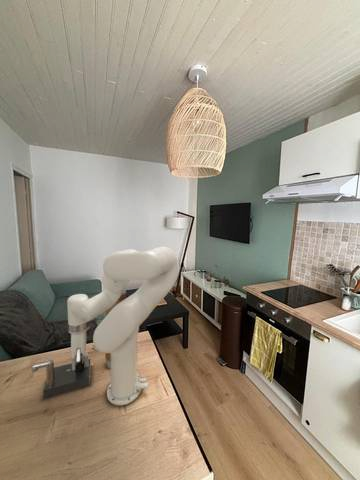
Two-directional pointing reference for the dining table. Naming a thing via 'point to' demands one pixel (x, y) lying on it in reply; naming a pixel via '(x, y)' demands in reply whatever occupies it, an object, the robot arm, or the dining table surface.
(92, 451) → the dining table surface
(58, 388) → the base
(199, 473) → the dining table surface
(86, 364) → the tap handle
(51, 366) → the spout
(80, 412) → the dining table surface
